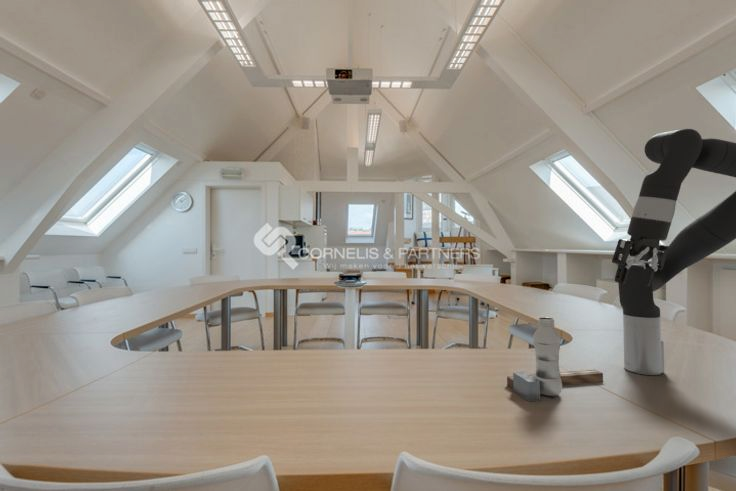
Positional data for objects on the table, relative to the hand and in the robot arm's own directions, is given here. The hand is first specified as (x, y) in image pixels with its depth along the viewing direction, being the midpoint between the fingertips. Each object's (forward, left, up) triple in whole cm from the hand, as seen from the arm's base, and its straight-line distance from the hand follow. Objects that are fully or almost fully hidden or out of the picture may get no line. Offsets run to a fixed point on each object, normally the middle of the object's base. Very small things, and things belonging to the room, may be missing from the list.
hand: (632, 283), depth 86 cm
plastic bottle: (+15, -11, -30) cm, 35 cm away
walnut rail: (+9, -17, -30) cm, 35 cm away
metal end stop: (+22, -11, -30) cm, 38 cm away
